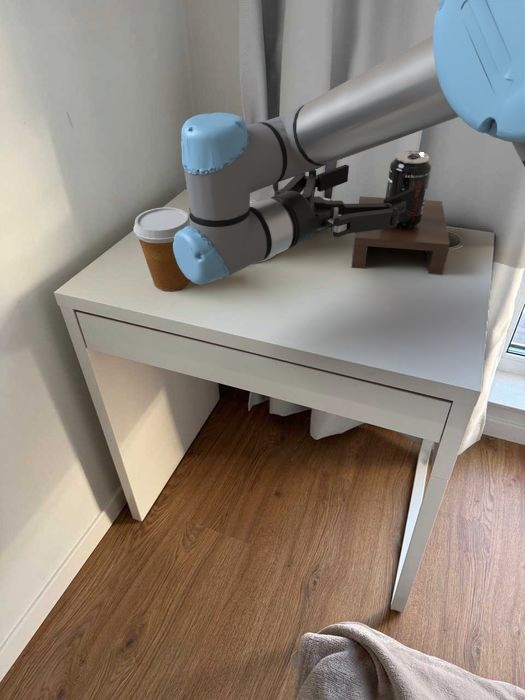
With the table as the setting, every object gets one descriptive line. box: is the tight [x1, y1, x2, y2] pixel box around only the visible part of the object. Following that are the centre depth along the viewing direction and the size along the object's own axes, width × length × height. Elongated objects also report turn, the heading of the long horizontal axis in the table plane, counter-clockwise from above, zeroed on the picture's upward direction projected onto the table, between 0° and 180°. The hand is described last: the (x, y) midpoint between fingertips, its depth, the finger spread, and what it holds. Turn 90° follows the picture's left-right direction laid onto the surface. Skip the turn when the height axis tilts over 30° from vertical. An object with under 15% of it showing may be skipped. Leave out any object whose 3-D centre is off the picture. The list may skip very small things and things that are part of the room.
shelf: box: [351, 195, 451, 276], centre depth 94 cm, size 18×16×6 cm
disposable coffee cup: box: [133, 206, 191, 292], centre depth 84 cm, size 10×10×12 cm
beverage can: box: [384, 150, 432, 229], centre depth 87 cm, size 7×7×12 cm
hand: (378, 184), depth 80 cm, fingers open, 13 cm apart
